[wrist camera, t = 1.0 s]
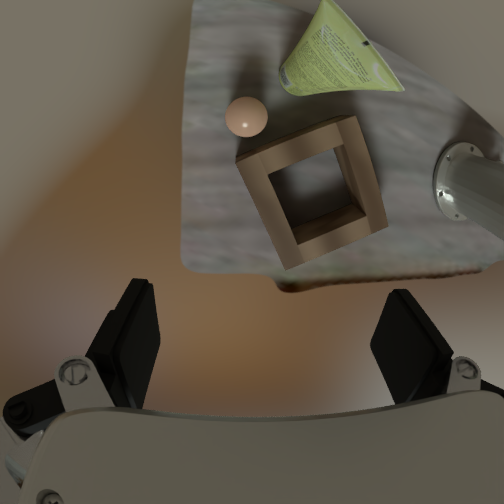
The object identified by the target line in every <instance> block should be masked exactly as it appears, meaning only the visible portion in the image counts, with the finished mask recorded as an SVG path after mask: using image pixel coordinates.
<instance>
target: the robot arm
mask: <svg viewBox="0 0 504 504" xmlns="http://www.w3.org/2000/svg"><path fill="white" fill-rule="evenodd" d="M433 191H434V197H435V200H436V203H437V205H438V207H439V209H440V210H441V212H442V213H443V214H444V215H446V216H447V217H449V218H450V219H452V220H455V221H462V220H466V219H468V218H469V219H470V220H472V221H474V222H475V223H477V224H478V225H480V226H482V227H483V228H485V229H486V230H488V231H489V232H491V233H492V234H494V235H495V236H497V237H498V238H500V239H501V240H503V241H504V164H503V162H502V161H501V160H499V161H493V160H490V159H487V158H485V157H484V155H483V153H482V152H481V151H480V150H479V148H478V147H476V146H475V145H473V144H470V143H467V142H457V143H454V144H452V145H451V146H449V147H448V148H447V149H446V150H445V151H444V152H443V154H442V155H441V157H440V158H439V161H438V163H437V165H436V169H435V172H434V179H433ZM159 346H160V332H159V325H158V318H157V312H156V304H155V297H154V289H153V285H152V284H151V283H149V282H148V280H147V279H137V278H133V279H132V280H131V282H130V284H129V285H128V287H127V289H126V290H125V292H124V294H123V295H122V297H121V299H120V301H119V302H118V304H117V306H116V308H115V310H110V311H109V313H108V314H107V316H106V318H105V320H104V321H103V323H102V325H101V327H100V329H99V331H98V332H97V334H96V336H95V338H94V340H93V342H92V344H91V345H90V347H89V349H88V351H87V353H86V355H85V357H84V356H71V357H68V358H65V359H63V360H62V361H61V362H60V363H59V364H58V365H57V367H56V369H55V373H54V376H55V379H54V380H51V381H49V382H47V383H44V384H42V385H39V386H37V387H35V388H33V389H30V390H28V391H25V392H23V393H20V394H18V395H15V396H13V397H12V398H10V399H9V400H8V401H7V402H6V404H5V406H4V409H3V416H2V417H1V418H0V504H504V390H503V389H501V388H499V387H496V386H494V385H492V384H490V383H488V382H486V381H484V380H482V379H481V371H480V368H479V366H478V365H477V364H476V363H475V362H474V361H473V360H471V359H470V358H467V357H462V356H459V357H456V358H455V359H454V360H452V359H451V357H452V355H453V353H454V352H453V350H452V349H451V347H450V346H449V344H448V343H447V342H446V340H445V339H444V337H443V336H442V335H441V333H440V332H439V330H438V329H437V328H436V326H435V325H434V323H433V322H432V321H431V319H430V318H429V317H428V315H427V314H426V313H425V311H424V310H423V309H422V307H421V306H420V305H419V304H418V302H417V301H416V300H415V298H414V297H413V296H412V295H411V293H410V292H409V291H408V290H407V289H394V290H393V291H392V292H391V293H389V295H388V297H387V300H386V303H385V306H384V308H383V311H382V314H381V316H380V319H379V322H378V324H377V327H376V329H375V332H374V334H373V337H372V339H371V343H370V347H371V350H372V353H373V355H374V357H375V359H376V361H377V364H378V366H379V368H380V370H381V372H382V375H383V377H384V379H385V381H386V384H387V386H388V388H389V391H390V393H391V395H392V398H393V400H394V402H395V405H390V406H385V407H379V408H372V409H365V410H358V411H350V412H342V413H333V414H321V415H308V416H289V417H228V416H227V417H226V416H209V415H195V414H182V413H172V412H163V411H155V410H145V409H142V407H143V403H144V399H145V395H146V392H147V388H148V385H149V381H150V378H151V374H152V370H153V367H154V363H155V360H156V357H157V353H158V350H159Z"/></svg>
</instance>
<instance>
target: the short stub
mask: <svg viewBox="0 0 504 504" xmlns="http://www.w3.org/2000/svg"><path fill="white" fill-rule="evenodd" d="M267 119H268V115H267V110H266V108H265V106H264V105H263V104H262V103H261V102H260V101H259V100H257V99H255V98H252V97H241V98H238V99H236V100H234V101H233V102H232V103H231V104H230V105H229V106H228V108H227V110H226V113H225V121H226V124H227V126H228V128H229V129H230V130H231V131H232V132H233V133H234V134H236V135H238V136H242V137H251V136H254V135H256V134H258V133H260V132H261V131H262V130H263V129H264V127H265V125H266V123H267Z"/></svg>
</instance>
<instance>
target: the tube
mask: <svg viewBox="0 0 504 504" xmlns="http://www.w3.org/2000/svg"><path fill="white" fill-rule="evenodd" d="M279 81H280V83H281V85H282V87H283V88H284V89H285V90H286V91H287V92H289V93H290V94H293V95H296V96H306V95H311V94H316V93H323V92H331V91H343V90H387V91H398V92H399V91H405V89H404V87H403V86H402V84H401V83H400V81H399V80H398V78H397V77H396V76H395V74H394V73H393V71H392V70H391V69H390V67H389V66H388V64H387V63H386V62H385V60H384V59H383V58H382V56H381V55H380V54H379V52H378V51H377V50H376V49H375V47H374V46H373V45H372V44H371V42H370V41H369V40H368V39H367V37H366V36H365V35H364V34H363V33H362V31H361V30H360V29H359V28H358V27H357V25H356V24H355V23H354V22H353V21H352V20H351V19H350V17H349V16H348V15H347V14H346V13H345V12H344V11H343V10H342V9H341V8H340V6H339V5H337V4H336V2H335V1H334V0H321V2H320V4H319V6H318V9H317V11H316V13H315V15H314V17H313V19H312V21H311V22H310V24H309V26H308V28H307V29H306V31H305V33H304V34H303V36H302V38H301V39H300V41H299V43H298V44H297V46H296V47H295V49H294V50H293V52H292V53H291V54H290V56H289V57H288V58H287V60H286V61H285V62H284V64H283V65H282V66H281V68H280V71H279Z"/></svg>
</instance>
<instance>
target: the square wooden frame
mask: <svg viewBox="0 0 504 504" xmlns="http://www.w3.org/2000/svg"><path fill="white" fill-rule="evenodd" d="M332 148H333V149H334V152H335V154H336V157H337V160H338V163H339V166H340V168H341V171H342V174H343V177H344V180H345V183H346V186H347V189H348V192H349V195H350V198H351V202H352V204H350V205H347V206H345V207H343V208H340V209H338V210H336V211H333V212H331V213H328V214H326V215H324V216H321V217H319V218H316V219H314V220H312V221H309V222H307V223H305V224H302V225H300V226H297V227H295V228H293V229H291V228H290V226H289V224H288V221H287V219H286V217H285V214H284V212H283V210H282V207H281V205H280V203H279V200H278V198H277V196H276V193H275V191H274V189H273V187H272V184H271V182H270V180H269V178H268V174H270V173H272V172H275V171H277V170H279V169H282V168H284V167H287V166H289V165H291V164H294V163H296V162H299V161H301V160H304V159H306V158H309V157H311V156H314V155H316V154H319V153H321V152H324V151H326V150H329V149H332ZM235 163H236V166H237V168H238V170H239V172H240V174H241V176H242V178H243V180H244V182H245V184H246V186H247V189H248V191H249V193H250V195H251V197H252V199H253V201H254V203H255V206H256V208H257V210H258V212H259V214H260V216H261V218H262V221H263V223H264V225H265V227H266V229H267V231H268V234H269V236H270V238H271V240H272V242H273V244H274V247H275V249H276V251H277V253H278V255H279V258H280V260H281V262H282V264H283V266H284V269H285V271H286V270H288V269H290V268H293V267H295V266H298V265H300V264H302V263H305V262H307V261H310V260H312V259H314V258H317V257H319V256H321V255H324V254H326V253H329V252H331V251H333V250H336V249H338V248H340V247H343V246H345V245H347V244H350V243H352V242H354V241H356V240H359V239H361V238H363V237H366V236H368V235H370V234H372V233H375V232H377V231H379V230H381V229H384V228H386V227H388V222H387V217H386V213H385V209H384V205H383V201H382V197H381V193H380V190H379V186H378V182H377V179H376V175H375V172H374V169H373V165H372V162H371V159H370V156H369V152H368V149H367V146H366V143H365V140H364V137H363V134H362V132H361V129H360V126H359V123H358V120H357V118H356V116H352V115H340V116H337V117H334V118H331V119H329V120H326V121H323V122H320V123H318V124H315V125H312V126H310V127H307V128H304V129H302V130H299V131H296V132H294V133H291V134H289V135H286V136H284V137H281V138H279V139H277V140H274V141H272V142H269V143H267V144H265V145H262V146H260V147H258V148H255V149H253V150H251V151H248V152H246V153H244V154H242V155H239V156H237V157H236V162H235Z"/></svg>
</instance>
